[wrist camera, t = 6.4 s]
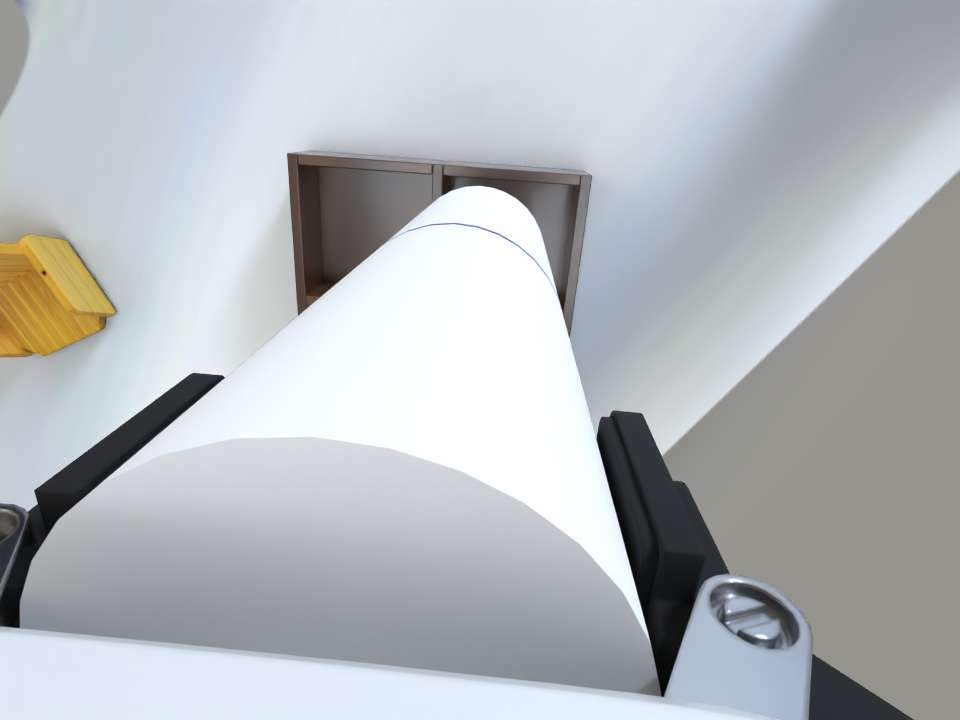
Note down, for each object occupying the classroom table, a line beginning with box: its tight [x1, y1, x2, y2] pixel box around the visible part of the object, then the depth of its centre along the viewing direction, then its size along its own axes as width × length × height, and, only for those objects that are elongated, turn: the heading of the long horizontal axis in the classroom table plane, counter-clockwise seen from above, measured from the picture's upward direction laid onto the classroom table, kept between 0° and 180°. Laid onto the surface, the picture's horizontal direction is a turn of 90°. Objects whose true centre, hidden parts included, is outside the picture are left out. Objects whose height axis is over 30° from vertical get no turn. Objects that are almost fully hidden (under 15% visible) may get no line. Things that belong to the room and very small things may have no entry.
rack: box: [287, 151, 592, 339], centre depth 42 cm, size 20×20×5 cm
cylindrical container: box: [20, 186, 661, 697], centre depth 18 cm, size 7×7×25 cm
